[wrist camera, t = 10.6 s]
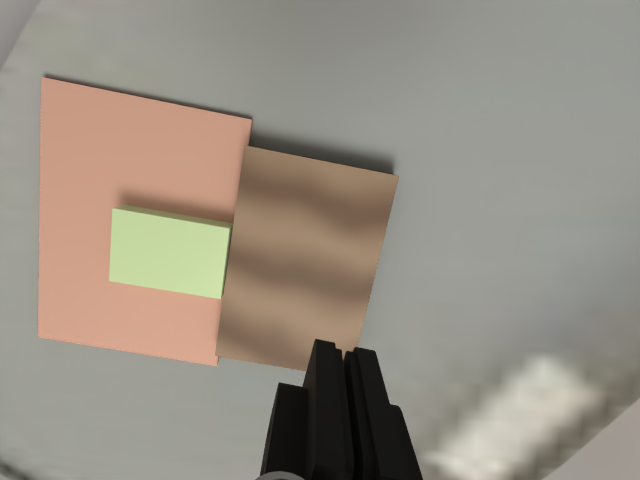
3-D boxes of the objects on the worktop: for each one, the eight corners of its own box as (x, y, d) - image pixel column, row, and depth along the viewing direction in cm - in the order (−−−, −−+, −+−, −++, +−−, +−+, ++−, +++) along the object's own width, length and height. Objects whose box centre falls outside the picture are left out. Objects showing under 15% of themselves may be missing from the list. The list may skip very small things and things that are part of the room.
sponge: (125, 204, 29) (112, 208, 28) (235, 223, 30) (229, 228, 28) (121, 272, 31) (108, 281, 29) (226, 290, 31) (220, 299, 29)
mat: (46, 78, 28) (41, 76, 27) (252, 120, 29) (251, 119, 28) (42, 334, 33) (38, 337, 32) (217, 363, 34) (216, 366, 33)
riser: (249, 145, 29) (244, 145, 27) (393, 174, 30) (398, 176, 28) (220, 343, 33) (214, 356, 31) (347, 365, 34) (349, 378, 32)
